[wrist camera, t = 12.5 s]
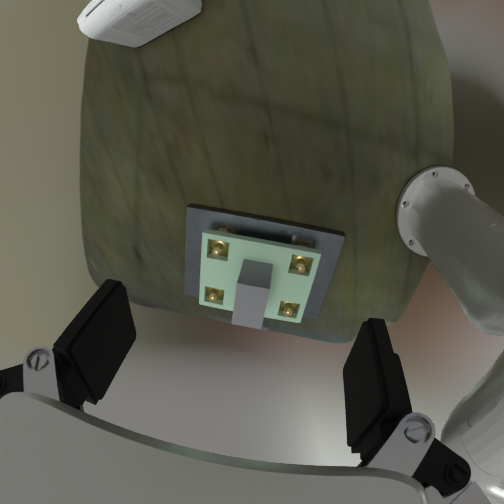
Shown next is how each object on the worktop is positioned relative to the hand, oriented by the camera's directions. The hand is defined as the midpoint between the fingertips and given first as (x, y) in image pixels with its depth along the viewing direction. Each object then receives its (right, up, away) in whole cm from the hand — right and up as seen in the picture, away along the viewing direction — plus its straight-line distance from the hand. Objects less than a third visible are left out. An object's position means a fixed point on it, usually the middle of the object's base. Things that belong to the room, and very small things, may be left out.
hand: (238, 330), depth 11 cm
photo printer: (-10, +31, +15) cm, 36 cm away
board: (+1, 0, +27) cm, 27 cm away
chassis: (+1, +1, +29) cm, 29 cm away
